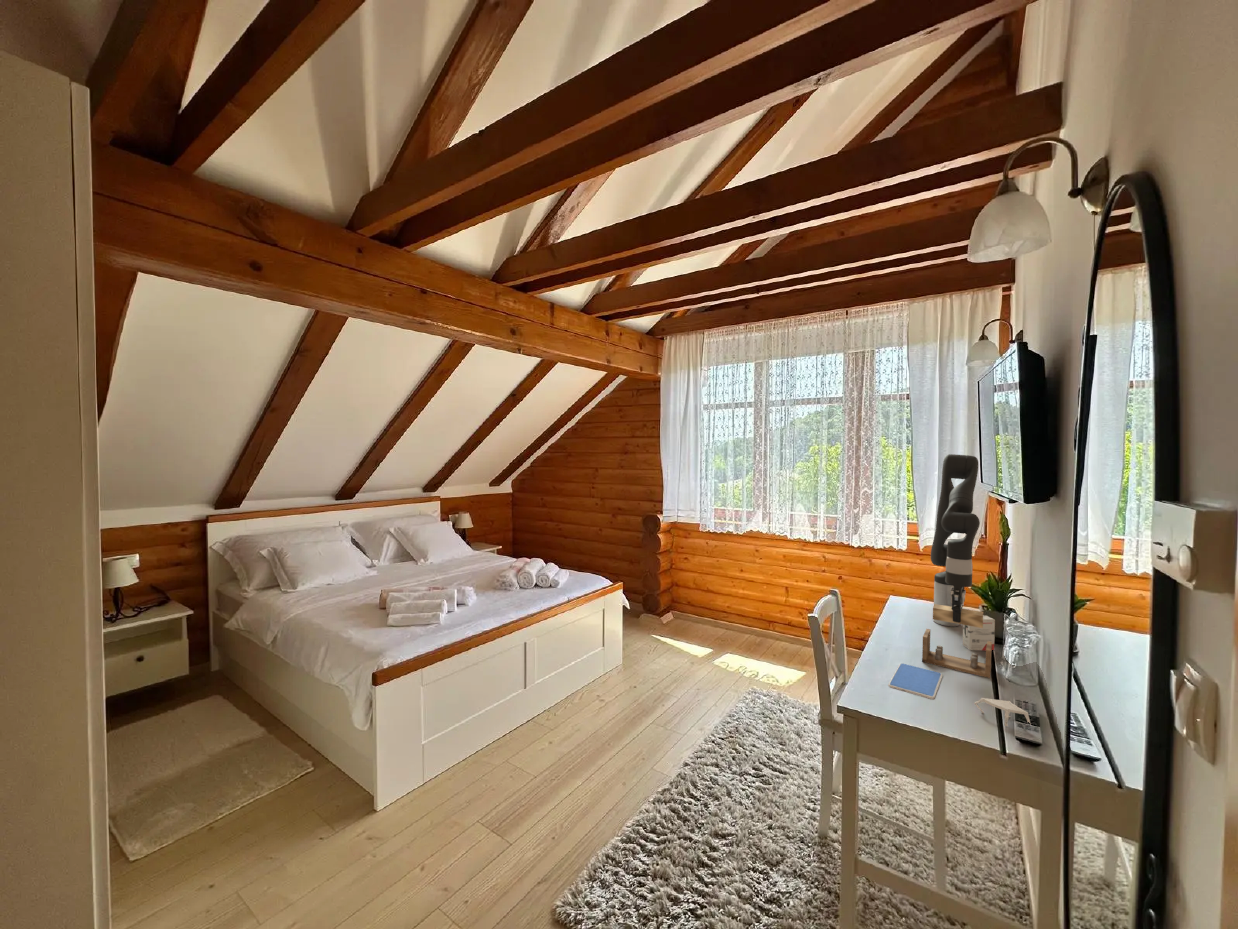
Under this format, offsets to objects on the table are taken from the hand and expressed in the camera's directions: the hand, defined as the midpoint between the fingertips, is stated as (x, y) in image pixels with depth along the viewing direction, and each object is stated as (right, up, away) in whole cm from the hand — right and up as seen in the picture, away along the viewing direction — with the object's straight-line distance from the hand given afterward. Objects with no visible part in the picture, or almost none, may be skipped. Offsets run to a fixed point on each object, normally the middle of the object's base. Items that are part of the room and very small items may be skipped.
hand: (957, 619), depth 169 cm
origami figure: (-10, -18, -32) cm, 38 cm away
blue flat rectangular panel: (-20, -18, -10) cm, 28 cm away
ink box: (+17, -15, +14) cm, 27 cm away
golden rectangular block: (0, -1, 0) cm, 1 cm away
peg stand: (0, -16, +1) cm, 16 cm away
